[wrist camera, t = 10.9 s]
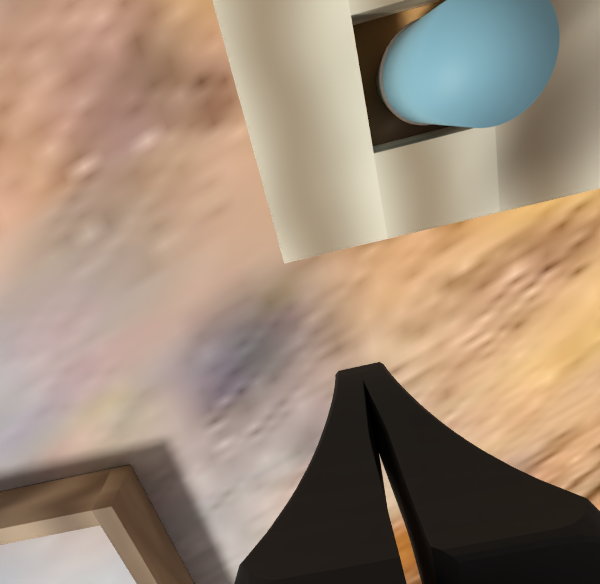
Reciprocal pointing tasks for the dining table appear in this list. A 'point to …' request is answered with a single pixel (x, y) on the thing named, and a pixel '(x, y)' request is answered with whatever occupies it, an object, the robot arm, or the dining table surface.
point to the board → (404, 152)
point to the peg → (470, 62)
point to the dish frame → (97, 520)
